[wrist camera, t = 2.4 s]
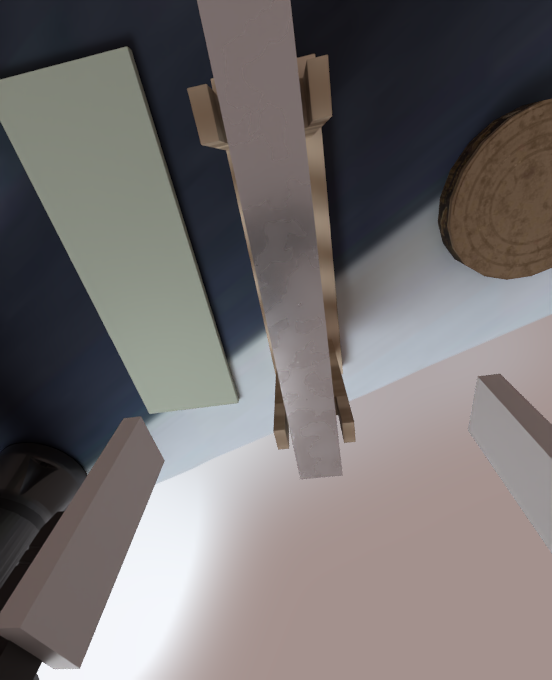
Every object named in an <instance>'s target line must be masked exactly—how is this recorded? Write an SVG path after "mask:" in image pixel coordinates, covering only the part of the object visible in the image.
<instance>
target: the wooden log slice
mask: <svg viewBox="0 0 552 680" xmlns="http://www.w3.org/2000/svg"><path fill="white" fill-rule="evenodd" d="M438 225H439V229H440V233H441V237H442V241H443V244H444V245H445V246H446V248H447V249H448V251H449V252H450V253H451V255H452V256H453V257H454V259H456V260H457V261H459V262H461V263H463V264H464V265H466V266H468V267H469V268H471V269H473V270H475V271H476V272H478V273H480V274H482V275H484V276H487V277H493V278H500V279H506V280H507V279H514V278H521V277H528V276H532V275H535V274H537V273H540V272H542V271H545V270H547V269H550V268H552V99H548V100H543V101H539V102H535V103H531V104H527V105H523V106H521V107H519V108H517V109H515V110H513V111H511V112H510V113H508V114H506V115H504V116H502V117H500V118H498V119H496V120H495V121H493V122H492V123H491V124H490V125H489V126H488V127H486V128H485V129H484V130H483V131H482V132H481V133H480V134H479V135H478V136H477V137H475V138H474V139H473V140H472V141H471V142H470V143H469V144H468V145H467V147H466V148H465V150H464V151H463V153H462V154H461V155H460V157H459V158H458V160H457V161H456V163H455V164H454V166H453V167H452V169H451V170H450V172H449V175H448V178H447V180H446V183H445V186H444V188H443V191H442V194H441V196H440V204H439V216H438Z"/></svg>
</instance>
